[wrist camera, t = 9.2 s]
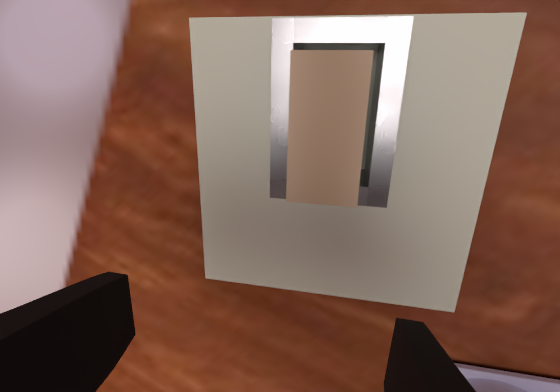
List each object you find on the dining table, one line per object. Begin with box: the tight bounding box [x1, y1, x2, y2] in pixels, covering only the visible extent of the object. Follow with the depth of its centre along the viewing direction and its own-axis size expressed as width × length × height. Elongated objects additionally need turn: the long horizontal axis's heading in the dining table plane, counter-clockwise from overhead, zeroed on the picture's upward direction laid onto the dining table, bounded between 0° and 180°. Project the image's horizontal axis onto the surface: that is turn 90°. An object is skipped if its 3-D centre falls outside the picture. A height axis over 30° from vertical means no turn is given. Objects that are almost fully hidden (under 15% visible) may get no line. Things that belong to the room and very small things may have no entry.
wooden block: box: [286, 50, 374, 208], centre depth 12 cm, size 2×4×7 cm, turn 178°
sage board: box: [189, 13, 527, 312], centre depth 16 cm, size 14×14×1 cm
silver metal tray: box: [270, 16, 414, 208], centre depth 14 cm, size 5×7×3 cm
